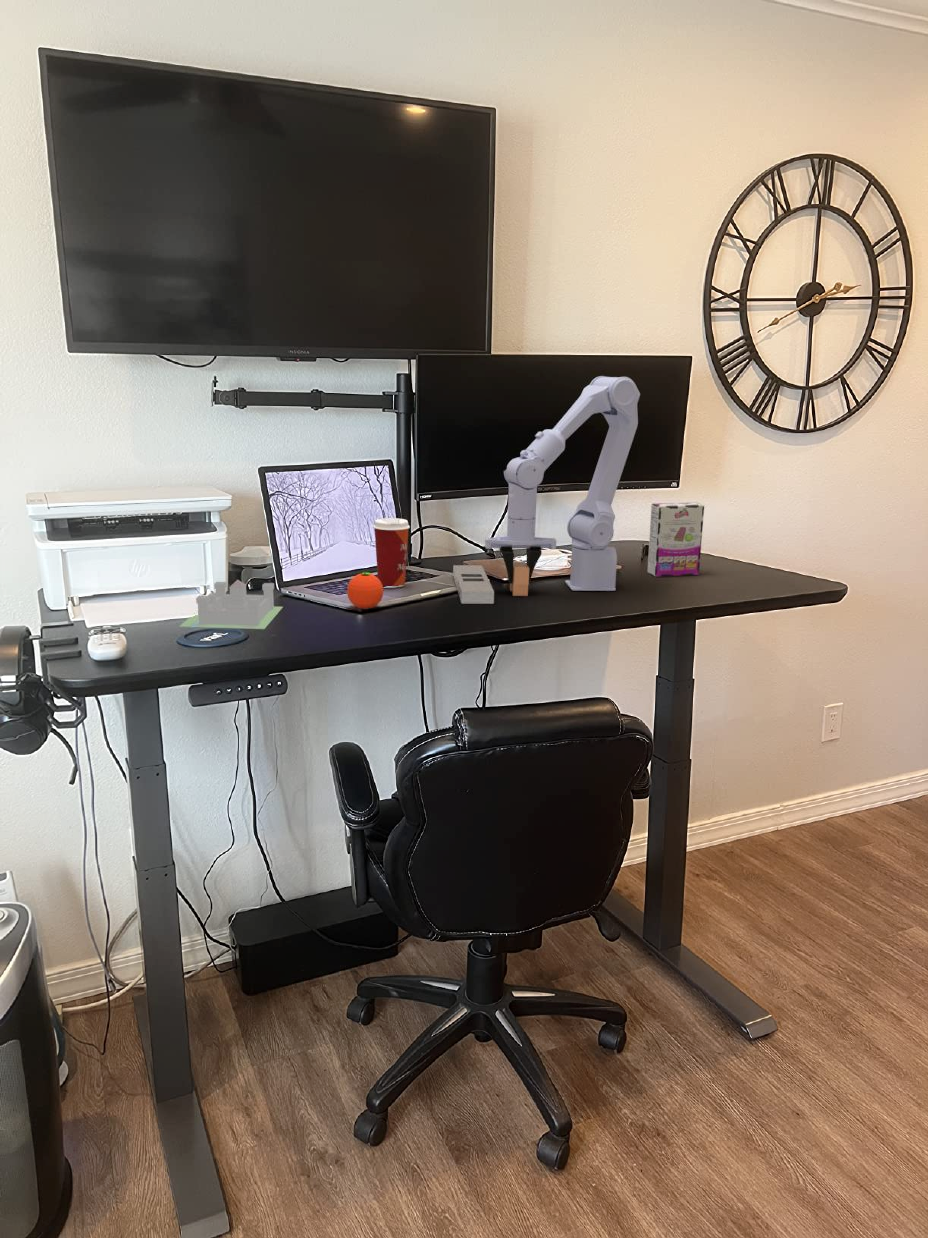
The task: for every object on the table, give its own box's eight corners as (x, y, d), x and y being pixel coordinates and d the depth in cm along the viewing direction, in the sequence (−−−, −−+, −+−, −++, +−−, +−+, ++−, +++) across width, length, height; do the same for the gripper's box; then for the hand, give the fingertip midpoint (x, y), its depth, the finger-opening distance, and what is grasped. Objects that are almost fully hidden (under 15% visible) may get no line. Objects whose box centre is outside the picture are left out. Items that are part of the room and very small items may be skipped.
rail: (481, 576, 201) (481, 565, 200) (493, 603, 178) (494, 591, 177) (453, 576, 200) (453, 565, 199) (461, 603, 177) (461, 591, 176)
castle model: (264, 631, 158) (262, 590, 156) (179, 629, 158) (177, 588, 156) (282, 609, 172) (281, 571, 170) (205, 607, 172) (203, 569, 170)
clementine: (351, 601, 177) (351, 566, 175) (386, 603, 176) (386, 567, 174) (344, 612, 169) (343, 575, 167) (380, 614, 169) (380, 577, 167)
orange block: (523, 589, 190) (524, 561, 188) (528, 596, 184) (529, 568, 182) (509, 589, 190) (510, 561, 188) (513, 596, 184) (514, 568, 182)
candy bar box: (689, 571, 211) (695, 501, 206) (699, 575, 206) (706, 504, 202) (645, 572, 208) (650, 502, 204) (654, 577, 204) (660, 505, 199)
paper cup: (412, 589, 188) (413, 523, 184) (376, 590, 186) (375, 523, 182) (406, 580, 195) (406, 517, 191) (370, 582, 193) (370, 517, 189)
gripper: (553, 514, 187) (550, 578, 191) (484, 514, 186) (482, 577, 189) (559, 520, 180) (556, 585, 184) (488, 519, 179) (486, 585, 183)
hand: (519, 582), depth 186 cm, fingers closed on orange block, 3 cm apart
